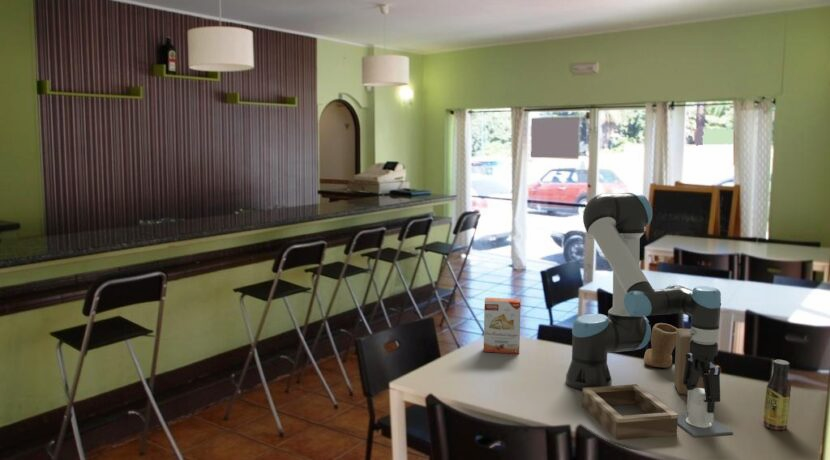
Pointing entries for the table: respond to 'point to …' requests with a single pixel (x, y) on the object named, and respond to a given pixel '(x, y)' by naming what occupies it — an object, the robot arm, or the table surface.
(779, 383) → the sauce bottle
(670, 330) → the tan boot
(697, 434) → the rubber mat
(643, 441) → the table surface
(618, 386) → the open wooden box
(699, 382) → the wooden block
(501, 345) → the cracker box
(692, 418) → the downlight
